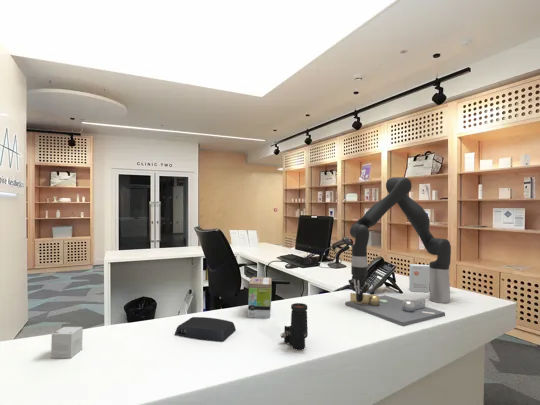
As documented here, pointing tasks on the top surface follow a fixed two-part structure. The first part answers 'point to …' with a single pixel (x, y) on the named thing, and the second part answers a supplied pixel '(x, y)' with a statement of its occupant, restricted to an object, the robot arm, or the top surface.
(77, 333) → the skincare box
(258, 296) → the tea box
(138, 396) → the top surface
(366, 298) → the brass door handle
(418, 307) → the chrome lever handle
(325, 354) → the top surface
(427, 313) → the board
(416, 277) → the skincare box
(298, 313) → the scope
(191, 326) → the external hard drive
